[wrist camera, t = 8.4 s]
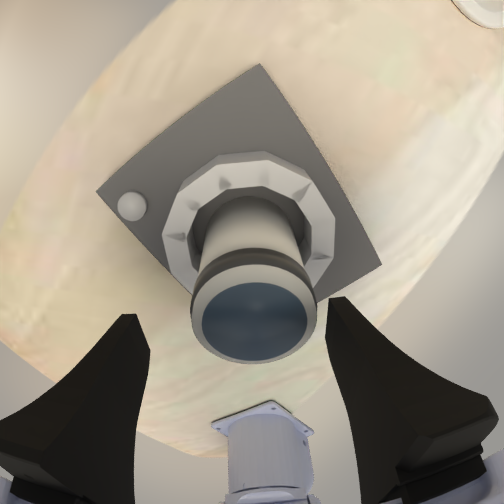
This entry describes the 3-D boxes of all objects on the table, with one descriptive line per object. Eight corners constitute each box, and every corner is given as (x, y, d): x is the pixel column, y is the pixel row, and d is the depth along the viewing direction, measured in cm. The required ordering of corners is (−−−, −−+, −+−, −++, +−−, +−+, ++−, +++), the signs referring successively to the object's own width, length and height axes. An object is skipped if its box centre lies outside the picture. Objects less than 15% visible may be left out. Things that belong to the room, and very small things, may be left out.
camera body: (371, 249, 21) (393, 282, 18) (240, 324, 24) (242, 364, 21) (257, 65, 15) (263, 60, 12) (107, 180, 18) (81, 205, 15)
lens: (294, 192, 17) (326, 268, 11) (292, 271, 20) (314, 363, 13) (200, 197, 17) (177, 276, 11) (209, 275, 19) (198, 369, 13)
